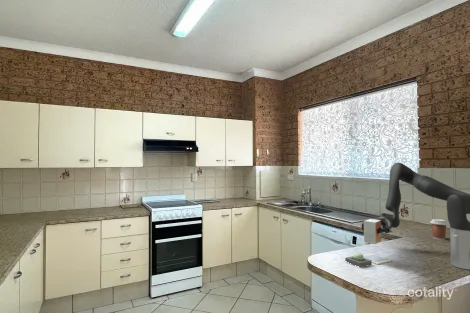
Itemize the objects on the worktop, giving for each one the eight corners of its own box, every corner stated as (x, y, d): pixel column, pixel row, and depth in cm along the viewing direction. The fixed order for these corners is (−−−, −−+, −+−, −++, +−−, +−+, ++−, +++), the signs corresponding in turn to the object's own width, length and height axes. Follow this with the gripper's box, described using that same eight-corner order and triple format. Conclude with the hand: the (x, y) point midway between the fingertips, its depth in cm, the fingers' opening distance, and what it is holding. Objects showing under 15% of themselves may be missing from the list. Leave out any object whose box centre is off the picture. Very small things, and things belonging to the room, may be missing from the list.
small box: (375, 244, 131) (375, 222, 131) (363, 242, 135) (363, 220, 135) (381, 241, 136) (381, 220, 137) (369, 239, 140) (369, 218, 141)
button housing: (371, 264, 127) (371, 260, 127) (359, 267, 123) (359, 262, 123) (356, 259, 134) (356, 255, 134) (345, 261, 130) (345, 257, 130)
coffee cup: (451, 240, 171) (450, 221, 172) (434, 239, 173) (434, 220, 174) (443, 237, 180) (442, 218, 181) (427, 236, 182) (427, 218, 183)
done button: (365, 260, 128) (365, 255, 128) (359, 262, 126) (359, 256, 126) (357, 257, 132) (357, 252, 132) (351, 259, 130) (351, 254, 130)
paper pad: (391, 261, 132) (391, 259, 132) (377, 264, 127) (377, 263, 127) (371, 254, 142) (371, 253, 142) (356, 257, 137) (356, 256, 137)
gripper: (366, 216, 151) (355, 220, 139) (396, 219, 141) (387, 225, 129) (366, 229, 151) (355, 235, 139) (396, 234, 141) (387, 240, 129)
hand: (371, 230), depth 134 cm, fingers closed on small box, 6 cm apart
